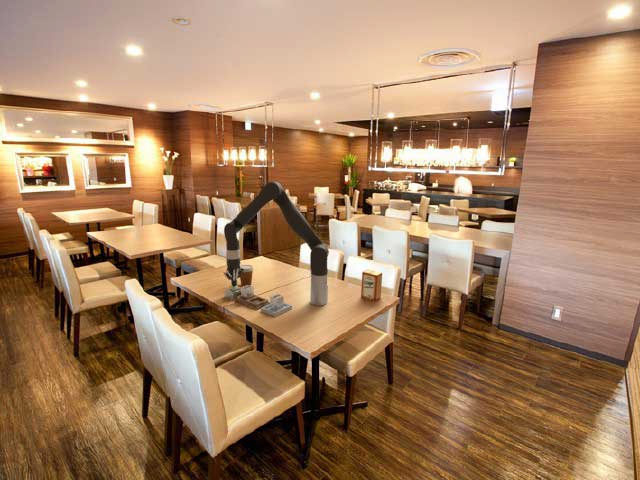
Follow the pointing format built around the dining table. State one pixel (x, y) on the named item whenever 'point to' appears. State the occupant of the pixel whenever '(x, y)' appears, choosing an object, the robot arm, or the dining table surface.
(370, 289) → the baking soda box
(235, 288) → the button
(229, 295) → the grey button housing
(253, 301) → the frame
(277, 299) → the block
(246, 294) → the block
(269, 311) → the tray
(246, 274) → the disposable coffee cup
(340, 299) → the dining table surface
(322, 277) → the robot arm
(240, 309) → the dining table surface
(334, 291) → the dining table surface
